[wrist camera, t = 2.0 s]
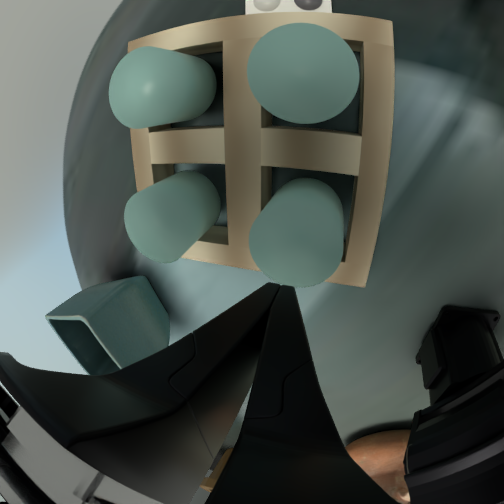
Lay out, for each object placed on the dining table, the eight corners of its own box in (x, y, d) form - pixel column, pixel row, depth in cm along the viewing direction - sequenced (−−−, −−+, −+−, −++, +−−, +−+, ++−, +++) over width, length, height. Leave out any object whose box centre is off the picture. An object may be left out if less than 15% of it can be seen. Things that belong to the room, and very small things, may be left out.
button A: (347, 182, 13) (350, 208, 10) (338, 250, 15) (335, 293, 12) (271, 174, 14) (248, 196, 11) (269, 241, 16) (249, 279, 13)
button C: (219, 171, 15) (182, 192, 12) (222, 234, 17) (192, 269, 14) (161, 170, 16) (118, 189, 13) (168, 227, 18) (132, 257, 15)
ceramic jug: (371, 409, 25) (352, 523, 13) (462, 416, 22) (461, 511, 10) (324, 452, 35) (303, 524, 23) (398, 459, 32) (386, 527, 20)
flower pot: (150, 252, 23) (81, 316, 15) (194, 329, 26) (148, 399, 19) (99, 266, 26) (42, 316, 19) (138, 329, 30) (95, 382, 22)
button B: (353, 50, 10) (358, 26, 6) (352, 125, 12) (357, 129, 8) (272, 46, 11) (246, 25, 7) (272, 118, 13) (247, 121, 9)
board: (384, 33, 10) (391, 21, 8) (363, 265, 17) (364, 287, 15) (151, 46, 14) (128, 42, 12) (165, 236, 21) (148, 251, 19)
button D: (216, 51, 11) (176, 37, 8) (217, 119, 13) (177, 124, 10) (155, 62, 12) (108, 58, 9) (157, 123, 14) (111, 133, 11)
